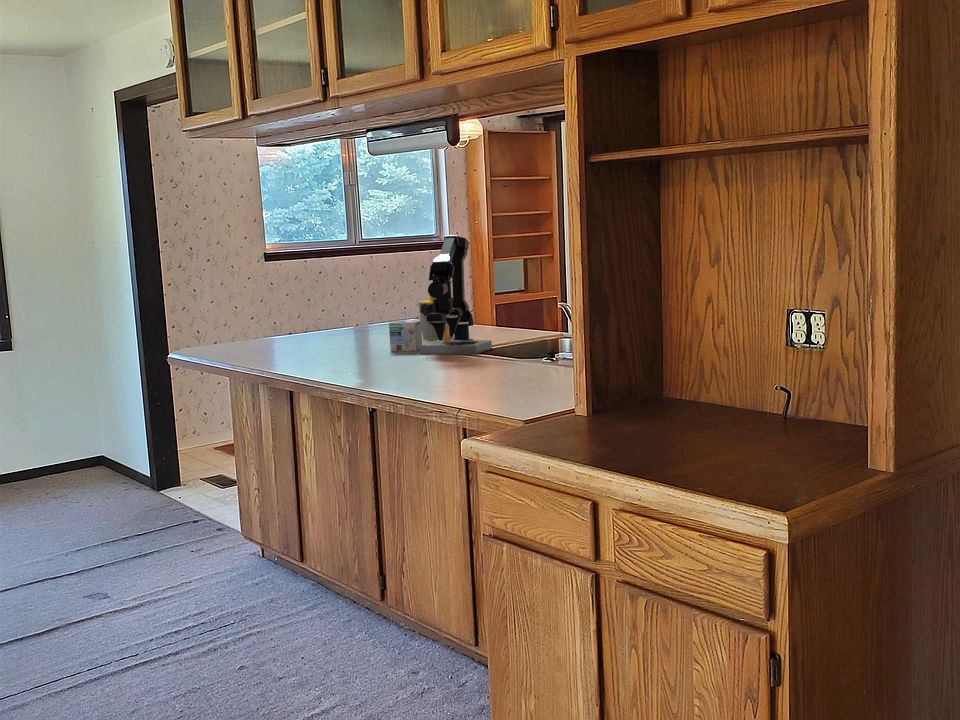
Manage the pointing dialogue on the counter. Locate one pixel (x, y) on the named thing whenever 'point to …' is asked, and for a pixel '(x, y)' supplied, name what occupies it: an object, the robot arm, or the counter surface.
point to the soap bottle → (427, 328)
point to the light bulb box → (405, 335)
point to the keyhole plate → (456, 347)
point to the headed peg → (446, 335)
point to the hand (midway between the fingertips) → (446, 338)
